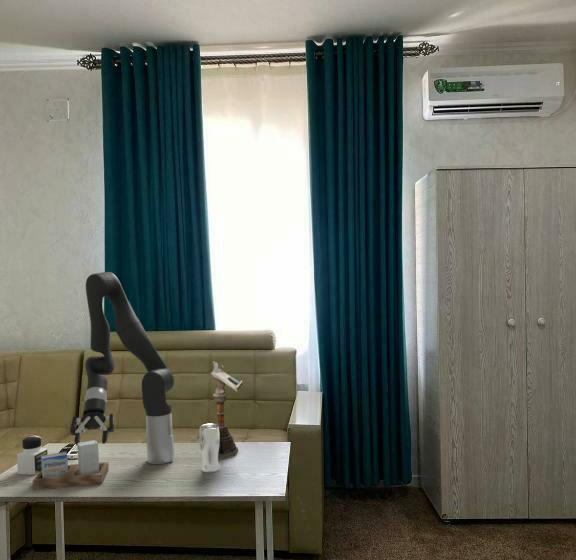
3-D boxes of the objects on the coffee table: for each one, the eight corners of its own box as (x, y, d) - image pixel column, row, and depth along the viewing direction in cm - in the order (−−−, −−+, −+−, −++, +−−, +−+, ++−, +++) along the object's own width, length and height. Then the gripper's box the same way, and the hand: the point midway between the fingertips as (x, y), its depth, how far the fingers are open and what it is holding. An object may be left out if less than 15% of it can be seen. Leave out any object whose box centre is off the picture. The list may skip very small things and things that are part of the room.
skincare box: (96, 474, 189) (95, 439, 188) (99, 477, 185) (98, 442, 185) (78, 478, 185) (76, 442, 185) (81, 482, 182) (79, 446, 182)
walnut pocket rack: (108, 470, 192) (108, 461, 192) (102, 483, 180) (101, 474, 180) (44, 475, 189) (43, 467, 189) (33, 489, 177) (32, 480, 177)
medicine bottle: (35, 475, 190) (34, 440, 189) (17, 474, 191) (15, 440, 191) (48, 467, 197) (47, 434, 196) (30, 467, 198) (29, 434, 198)
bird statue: (254, 447, 212) (250, 356, 211) (247, 459, 199) (243, 362, 198) (212, 446, 214) (208, 357, 213) (202, 458, 201) (199, 363, 200)
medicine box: (42, 485, 180) (41, 458, 180) (42, 480, 184) (40, 455, 183) (68, 480, 183) (67, 454, 183) (67, 475, 187) (66, 450, 187)
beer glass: (224, 467, 191) (223, 424, 191) (213, 474, 185) (212, 430, 184) (207, 464, 194) (206, 422, 194) (196, 471, 188) (194, 428, 187)
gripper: (72, 398, 195) (66, 440, 184) (114, 395, 197) (110, 436, 186) (76, 409, 201) (71, 451, 190) (117, 406, 203) (113, 447, 192)
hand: (90, 443), depth 188 cm, fingers open, 8 cm apart
